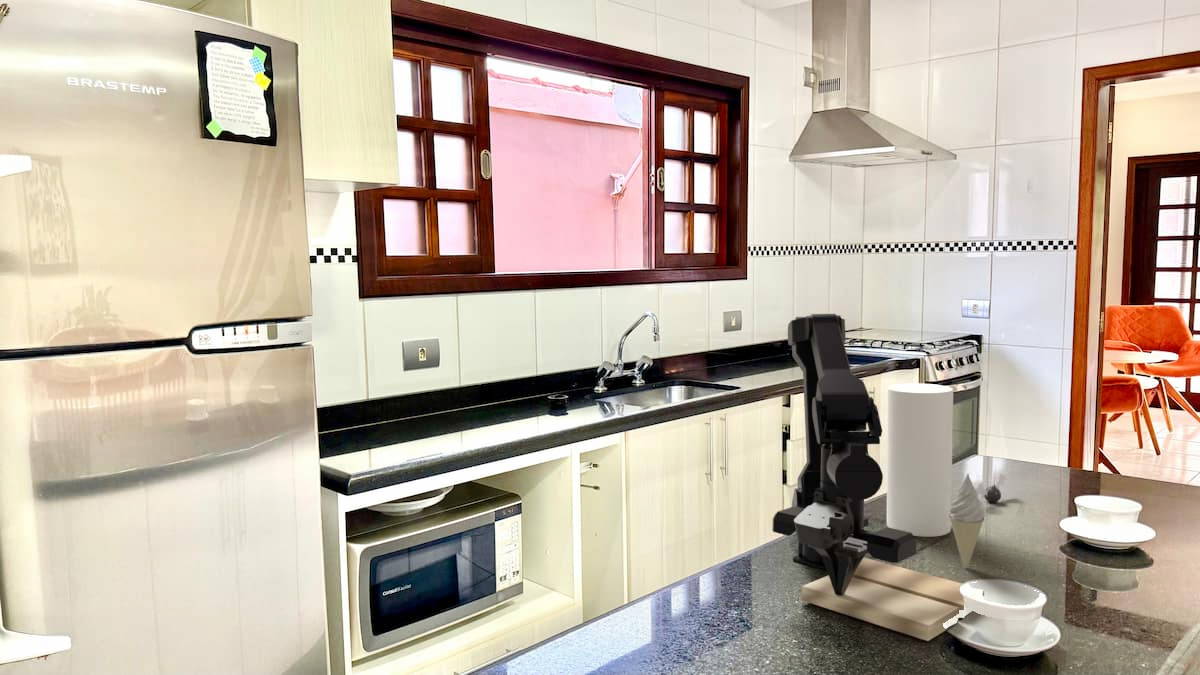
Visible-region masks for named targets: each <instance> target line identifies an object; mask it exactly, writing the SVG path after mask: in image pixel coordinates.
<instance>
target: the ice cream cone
mask: <svg viewBox="0 0 1200 675" xmlns="http://www.w3.org/2000/svg"><path fill="white" fill-rule="evenodd" d="M975 489H976V488H975V486H974V484H973V482H972V479H971V477H970V475H969V473H966V477H965V479H964V481H963V484H962V485H961V487H960V488H959V489H958V490H957V491H958V494H957V495H956V497H954V499H953V501H951V510H950V513H951V514H950V515H949V518H950V520H951V529H952V531H953V534H954V538H955V541H956V544H957V550H958V553H959V556H960V559H961V563H962V567H963V569H968V568H969V564H970V561H971V558H972V556H973V553H974V549H975V547H976V544H977V540H978V538H979V535H980V532H981V529H982V526H983V524H984V523H983V522H984V521H985V518H986V514H985V510H986V508H985V504H984V503H983V501H981V499H979V497H978V496H977V491H976V490H975Z"/></svg>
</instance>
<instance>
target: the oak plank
mask: <svg viewBox="0 0 1200 675" xmlns="http://www.w3.org/2000/svg"><path fill="white" fill-rule="evenodd" d="M801 601H803V602H805V603H810V604H813V605H816V606H819V607H821V608H825V609H828V610H831V611H834V612H837V613H840V614H843V615H846V616H850V617H853V618H856V619H859V620H862V621H864V622H868V623H870V624H873V625H876V626H880V627H884V628H886V629H889V630H892V631H895V632H899V633H902V634H905V635H909V636H911V637H914V638H917V639H920V640H924V641H927V642H929V641H931V640H932V639H933V638H936V637H937V636H939V635H940V634H942V633H944V632H945V631H946V630H945V628H944V627H943V623H945V622H946V621H948V620H949V619H951V618H953V617H954V616H956V615H957V614H959V607H955V606H952V605H948V604H945V603H941V602H938V601H934V600H931V599H927V598H924V597H920V596H917V595H913V594H910V593H906V592H903V591H899V590H896V589H892V588H889V587H885V586H882V585H878V584H875V583H871V582H868V581H864V580H861V579H857V578H854V577H852V579H851V581H850V583H849V585H848V587H847V589H846V592H845V594H844V595H842V596H839V595H836V594H835V592H834V589H833V586H832V583H831V580H830V577H829V574H828V575H826V576H824V577H820V578H819V579H816V580H814V581H812V582H809V583H806V584H804V585H802V586H801Z"/></svg>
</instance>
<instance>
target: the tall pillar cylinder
mask: <svg viewBox="0 0 1200 675" xmlns="http://www.w3.org/2000/svg"><path fill="white" fill-rule="evenodd" d="M953 419H954V388H952V387H950V386H946V385H942V384H933V383H922V382H921V383H914V382H912V383H908V382H907V383H895V384H892V385H889V386H888V387H887V422H886V423H887V425H886V427H887V428H886V429H887V432H886V433H887V437H886V438H887V439H886V440H887V441H886V443H887V445H886V446H887V447H886V448H887V449H886V450H887V451H886V452H887V453H886V526H887V527H888V528H893V529H897V530H902V531H906V532H910V533H912V535H913V536H915V537H922V538H923V537H939V536H940V537H941V536H945V535H947V534H949V533H951V530H952V524H951V520H950V518H949V515H950V514H951V513H950V510H951V508H952V506H951V503H952V495H953V494H952V492H953V490H952V489H953V435H954V434H953V432H954V430H953V429H954V427H953V426H954V424H953V423H954V422H953Z"/></svg>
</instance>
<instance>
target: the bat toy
mask: <svg viewBox="0 0 1200 675" xmlns="http://www.w3.org/2000/svg"><path fill="white" fill-rule="evenodd" d="M1008 480H1009V479H1008V477H1007V476H1006V475H1004V474H999V475H998V480H997V482H996V484H992V485H991V486H989V487H987V488H984V485H983V482H982V481H981V482H980V483H979V484H977V486H976V488H975V490H976V491H977V497H978V496H979V495H981V499H982V500H984V499H985V500H986V501H987V502H989V503H992V504H993V503H997V502H999V501H1000V500H1001V498H1002V493H1001V491H1000V487H1001V486H1003V487H1005V481H1008Z"/></svg>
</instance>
